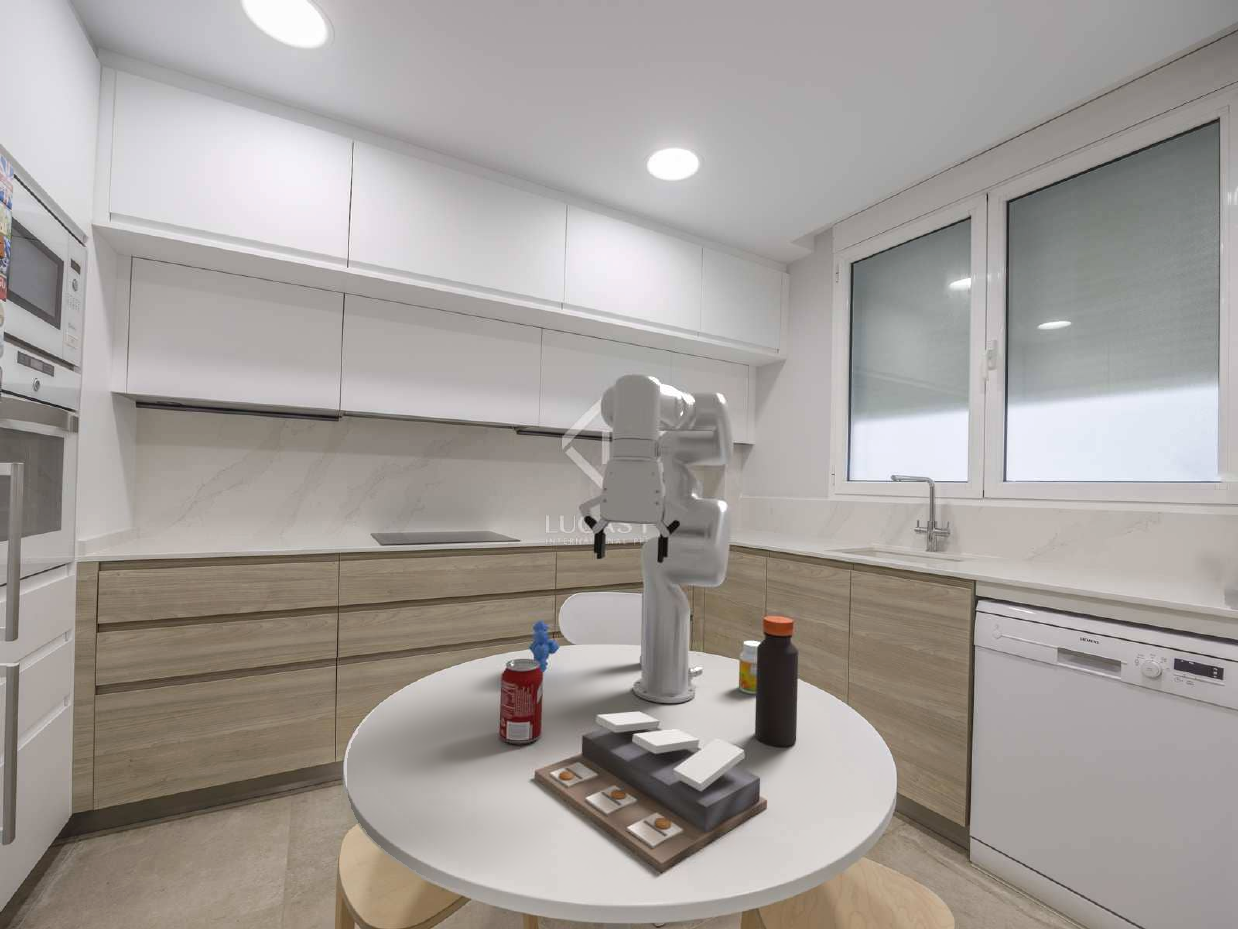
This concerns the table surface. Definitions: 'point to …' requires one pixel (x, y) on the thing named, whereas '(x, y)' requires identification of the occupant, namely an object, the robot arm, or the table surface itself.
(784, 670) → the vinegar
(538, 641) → the grapes
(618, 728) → the rocker far
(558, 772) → the rocker switch unit
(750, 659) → the supplement bottle
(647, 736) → the rocker middle
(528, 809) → the table surface
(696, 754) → the rocker near
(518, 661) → the soda can
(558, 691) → the table surface
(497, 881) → the table surface
